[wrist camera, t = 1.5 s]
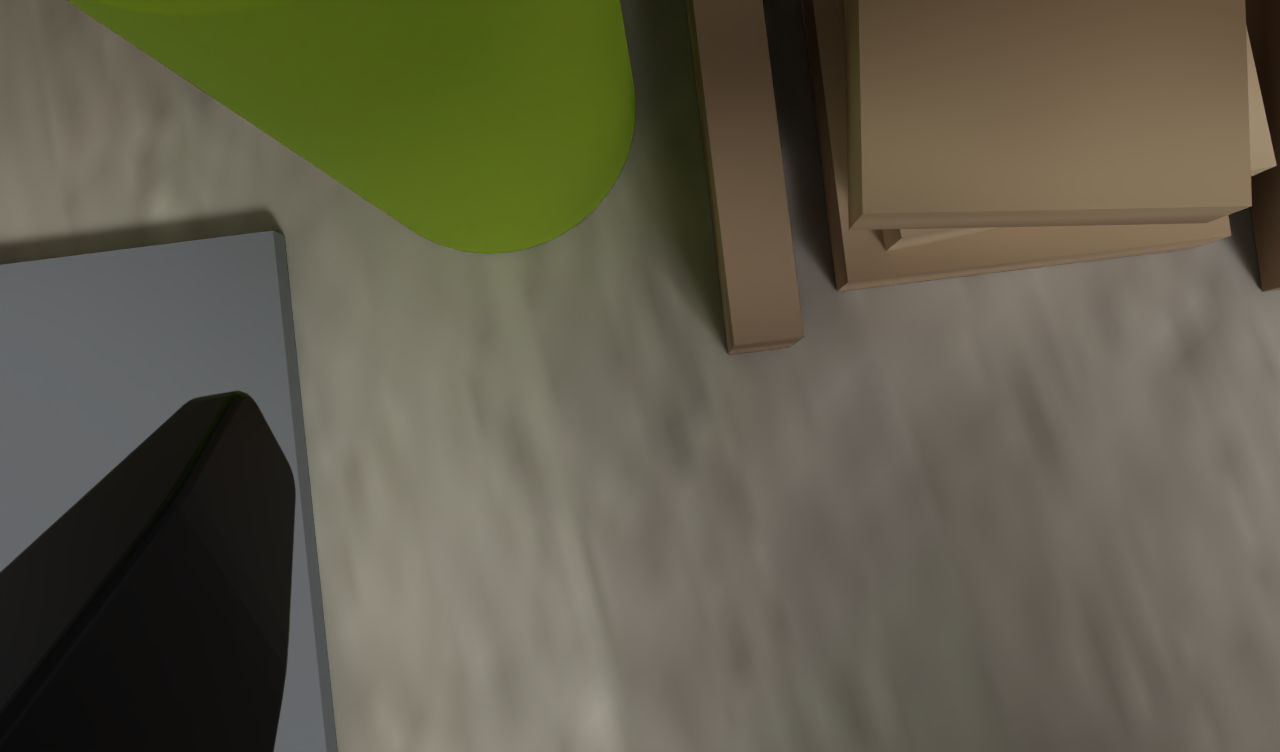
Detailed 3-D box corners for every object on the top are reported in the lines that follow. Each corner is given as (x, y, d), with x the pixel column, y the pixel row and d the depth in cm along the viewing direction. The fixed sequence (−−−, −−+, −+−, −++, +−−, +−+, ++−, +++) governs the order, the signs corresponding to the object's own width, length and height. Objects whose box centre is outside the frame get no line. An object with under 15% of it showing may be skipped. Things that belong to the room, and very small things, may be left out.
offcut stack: (1200, 247, 21) (1337, 202, 17) (831, 291, 22) (868, 259, 17) (1144, -154, 22) (1264, -304, 17) (781, -105, 22) (805, -239, 17)
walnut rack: (1324, 283, 21) (1429, 262, 18) (345, 400, 22) (290, 397, 19) (1247, -257, 22) (1336, -366, 19) (290, -123, 22) (228, -207, 19)
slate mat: (340, 777, 22) (330, 787, 21) (-187, 832, 22) (-212, 843, 21) (284, 235, 22) (273, 230, 21) (-232, 299, 23) (-257, 297, 22)
